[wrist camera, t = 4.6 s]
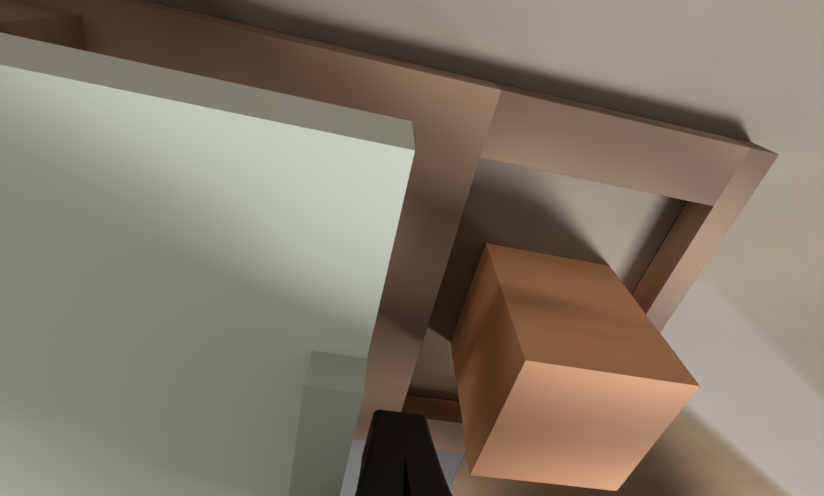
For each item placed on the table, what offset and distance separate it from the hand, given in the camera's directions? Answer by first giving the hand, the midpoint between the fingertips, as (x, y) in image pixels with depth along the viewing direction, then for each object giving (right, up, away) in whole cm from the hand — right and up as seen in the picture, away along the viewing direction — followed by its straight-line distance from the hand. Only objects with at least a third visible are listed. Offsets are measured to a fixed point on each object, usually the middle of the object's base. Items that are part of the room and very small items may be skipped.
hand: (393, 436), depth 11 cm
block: (+5, +3, +7) cm, 9 cm away
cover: (-6, +1, -1) cm, 6 cm away
